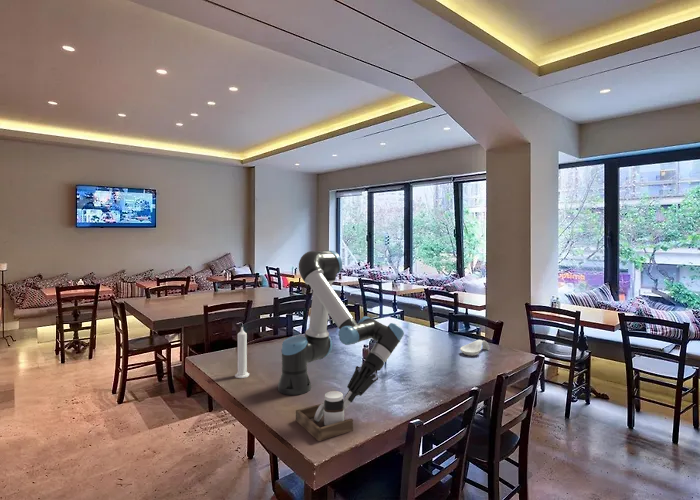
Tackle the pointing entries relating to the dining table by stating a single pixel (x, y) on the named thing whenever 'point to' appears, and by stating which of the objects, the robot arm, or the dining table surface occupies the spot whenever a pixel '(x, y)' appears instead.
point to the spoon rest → (474, 347)
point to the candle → (242, 355)
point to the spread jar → (331, 408)
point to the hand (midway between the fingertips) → (342, 407)
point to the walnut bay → (322, 432)
